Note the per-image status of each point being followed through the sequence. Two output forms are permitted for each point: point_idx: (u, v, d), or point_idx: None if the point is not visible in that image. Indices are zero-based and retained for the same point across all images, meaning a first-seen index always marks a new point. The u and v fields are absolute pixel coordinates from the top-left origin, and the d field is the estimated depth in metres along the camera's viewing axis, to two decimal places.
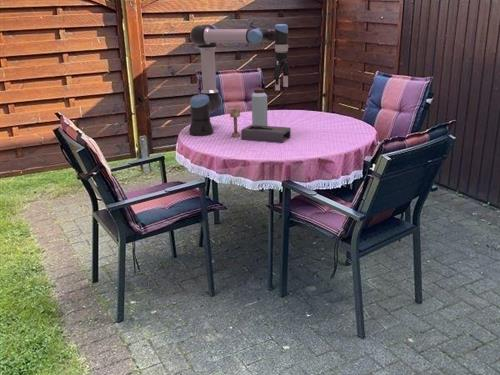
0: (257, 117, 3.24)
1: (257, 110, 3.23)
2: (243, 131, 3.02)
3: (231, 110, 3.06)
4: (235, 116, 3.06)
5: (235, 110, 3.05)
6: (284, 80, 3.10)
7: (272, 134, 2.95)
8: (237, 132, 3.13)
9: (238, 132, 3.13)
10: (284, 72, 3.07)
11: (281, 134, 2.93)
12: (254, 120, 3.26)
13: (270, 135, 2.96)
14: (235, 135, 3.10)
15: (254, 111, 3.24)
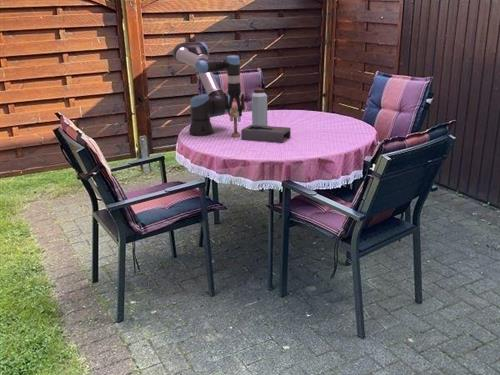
0: (257, 117, 3.24)
1: (257, 110, 3.23)
2: (243, 131, 3.02)
3: (231, 110, 3.06)
4: (235, 116, 3.06)
5: (235, 110, 3.05)
6: None
7: (272, 134, 2.95)
8: (237, 132, 3.13)
9: (238, 132, 3.13)
10: None
11: (281, 134, 2.93)
12: (254, 120, 3.26)
13: (270, 135, 2.96)
14: (235, 135, 3.10)
15: (254, 111, 3.24)
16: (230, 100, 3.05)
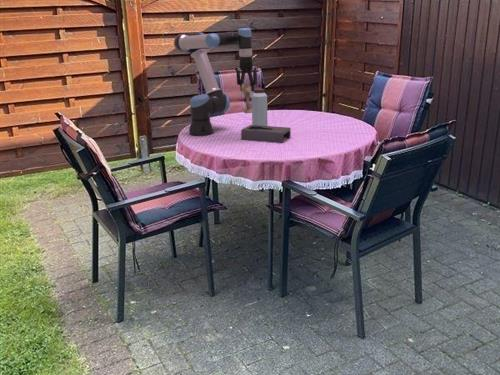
0: (257, 117, 3.24)
1: (257, 110, 3.23)
2: (243, 131, 3.02)
3: (243, 85, 2.97)
4: (247, 91, 2.97)
5: (247, 85, 2.96)
6: None
7: (272, 134, 2.95)
8: (249, 108, 3.04)
9: (250, 108, 3.04)
10: None
11: (281, 134, 2.93)
12: (254, 120, 3.26)
13: (270, 135, 2.96)
14: (247, 111, 3.01)
15: (254, 111, 3.24)
16: (242, 75, 2.97)
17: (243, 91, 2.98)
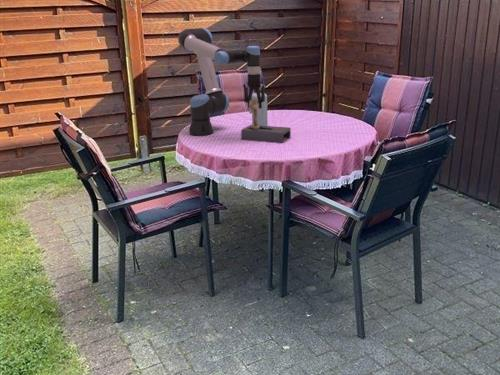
0: (257, 117, 3.24)
1: (257, 110, 3.23)
2: (243, 131, 3.02)
3: (251, 102, 2.99)
4: (255, 108, 2.99)
5: (255, 102, 2.98)
6: None
7: (272, 134, 2.95)
8: (257, 125, 3.06)
9: (258, 125, 3.06)
10: None
11: (281, 134, 2.93)
12: None
13: (270, 135, 2.96)
14: (255, 128, 3.03)
15: None
16: (250, 92, 2.98)
17: (251, 108, 3.00)
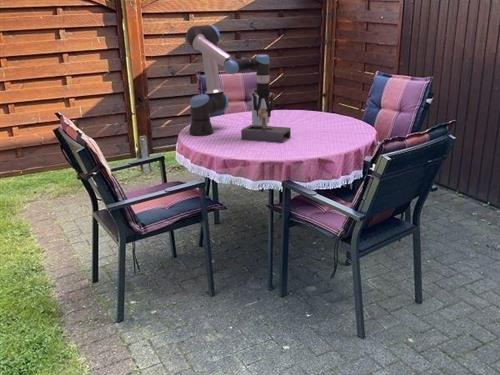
0: (257, 117, 3.24)
1: None
2: (243, 131, 3.02)
3: (260, 111, 2.98)
4: (264, 117, 2.99)
5: (264, 111, 2.97)
6: None
7: (272, 134, 2.95)
8: None
9: None
10: None
11: (281, 134, 2.93)
12: (254, 120, 3.26)
13: (270, 135, 2.96)
14: None
15: (254, 111, 3.24)
16: (259, 100, 2.98)
17: (260, 116, 3.00)
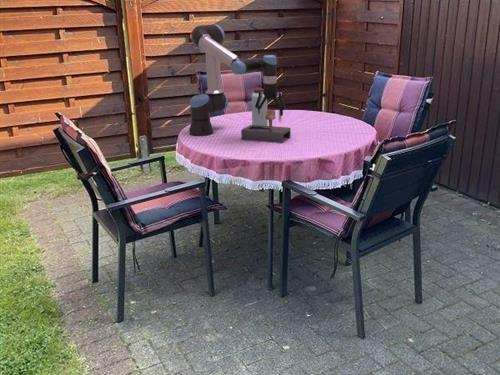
0: (257, 117, 3.24)
1: (257, 110, 3.23)
2: (243, 131, 3.02)
3: (266, 112, 2.97)
4: (271, 118, 2.97)
5: (271, 112, 2.96)
6: None
7: (272, 134, 2.95)
8: None
9: None
10: None
11: (281, 134, 2.93)
12: (254, 120, 3.26)
13: (270, 135, 2.96)
14: None
15: (254, 111, 3.24)
16: (263, 100, 2.97)
17: (266, 118, 2.98)
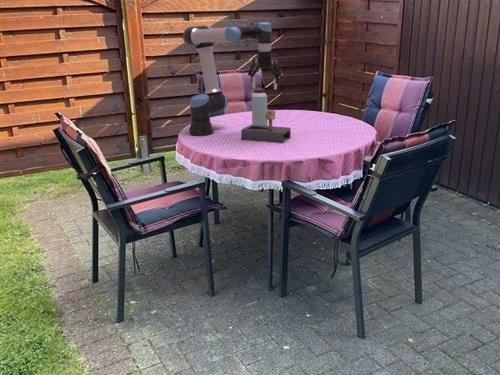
0: (257, 117, 3.24)
1: (257, 110, 3.23)
2: (243, 131, 3.02)
3: (266, 112, 2.97)
4: (271, 118, 2.97)
5: (271, 112, 2.96)
6: None
7: (272, 134, 2.95)
8: None
9: None
10: None
11: (281, 134, 2.93)
12: (254, 120, 3.26)
13: (270, 135, 2.96)
14: None
15: (254, 111, 3.24)
16: (257, 68, 2.94)
17: (266, 118, 2.98)
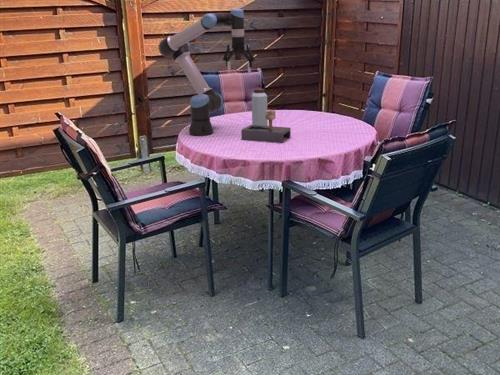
0: (257, 117, 3.24)
1: (257, 110, 3.23)
2: (243, 131, 3.02)
3: (266, 112, 2.97)
4: (271, 118, 2.97)
5: (271, 112, 2.96)
6: None
7: (272, 134, 2.95)
8: None
9: None
10: None
11: (281, 134, 2.93)
12: (254, 120, 3.26)
13: (270, 135, 2.96)
14: None
15: (254, 111, 3.24)
16: (231, 53, 3.08)
17: (266, 118, 2.98)
